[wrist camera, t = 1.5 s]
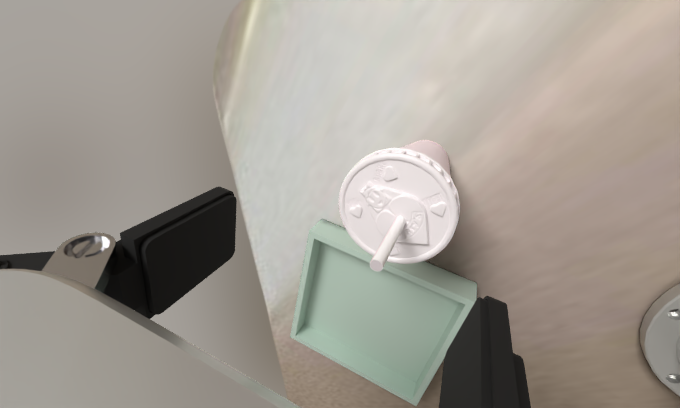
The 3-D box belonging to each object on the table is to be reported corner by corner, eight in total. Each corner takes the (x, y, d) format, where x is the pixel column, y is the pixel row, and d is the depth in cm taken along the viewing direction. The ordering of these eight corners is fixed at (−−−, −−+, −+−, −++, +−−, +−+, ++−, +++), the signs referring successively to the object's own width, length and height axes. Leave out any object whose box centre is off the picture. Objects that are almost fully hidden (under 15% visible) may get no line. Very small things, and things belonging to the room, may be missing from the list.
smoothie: (427, 215, 25) (377, 343, 14) (369, 165, 26) (273, 247, 14) (488, 160, 22) (492, 267, 10) (420, 103, 22) (350, 143, 11)
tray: (476, 283, 26) (476, 302, 24) (420, 384, 33) (416, 406, 31) (321, 218, 30) (309, 230, 28) (301, 321, 37) (290, 337, 35)
